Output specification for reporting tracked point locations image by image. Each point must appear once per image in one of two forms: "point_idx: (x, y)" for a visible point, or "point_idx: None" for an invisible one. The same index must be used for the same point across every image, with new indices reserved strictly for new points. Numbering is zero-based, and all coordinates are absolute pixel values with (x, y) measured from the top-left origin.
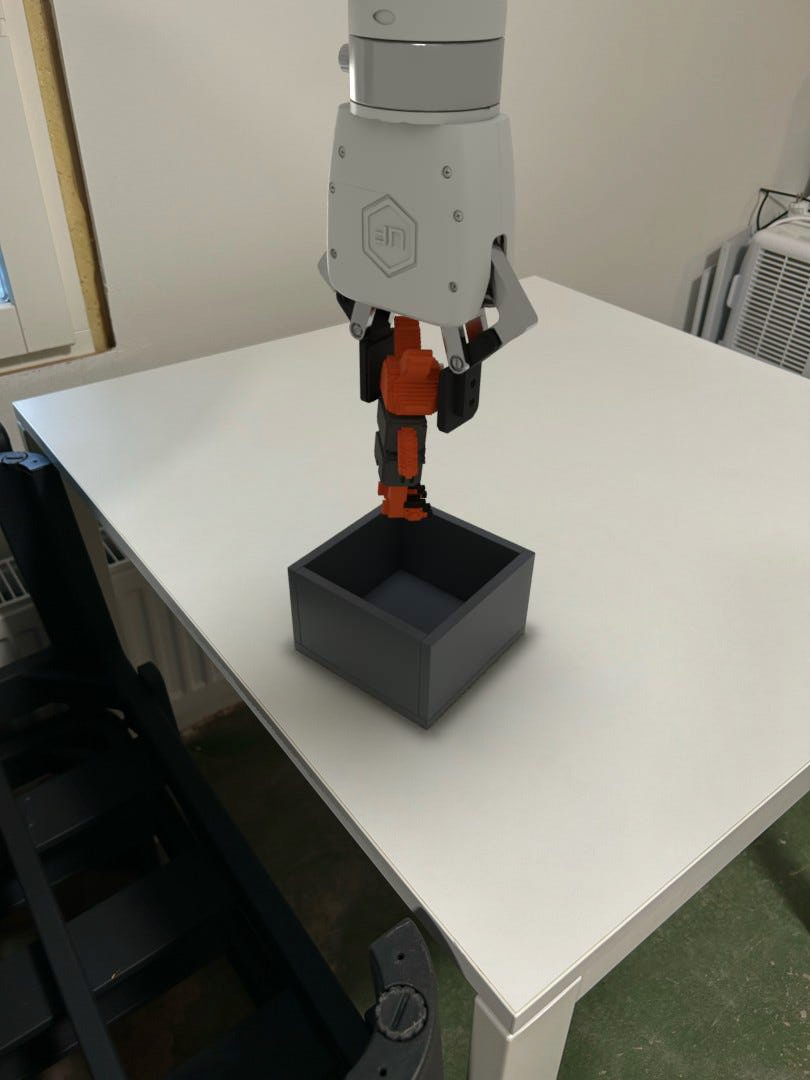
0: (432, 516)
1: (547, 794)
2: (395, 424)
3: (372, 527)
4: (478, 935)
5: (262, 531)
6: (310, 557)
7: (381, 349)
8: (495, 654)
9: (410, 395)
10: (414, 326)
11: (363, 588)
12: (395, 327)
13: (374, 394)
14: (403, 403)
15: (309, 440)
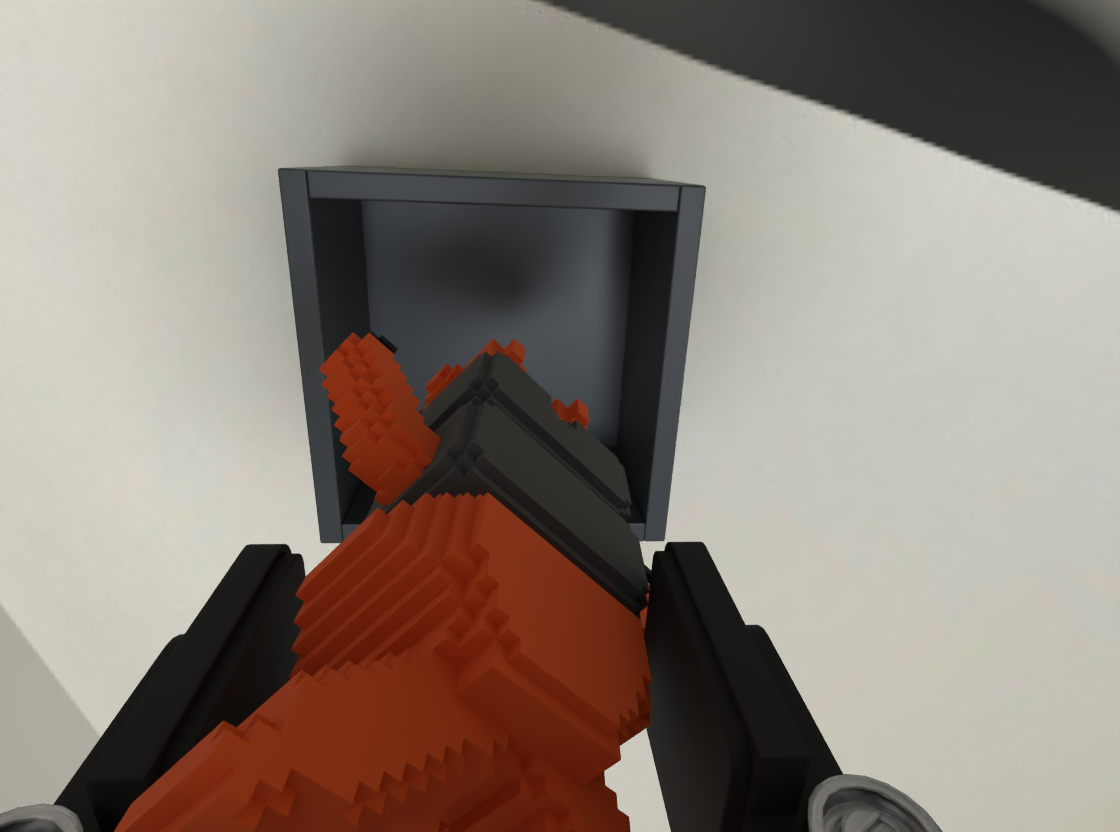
0: None
1: (109, 174)
2: (437, 465)
3: (649, 427)
4: None
5: (896, 387)
6: (683, 247)
7: (704, 791)
8: None
9: (379, 594)
10: None
11: (627, 354)
12: None
13: (657, 586)
14: (384, 534)
15: (971, 627)
